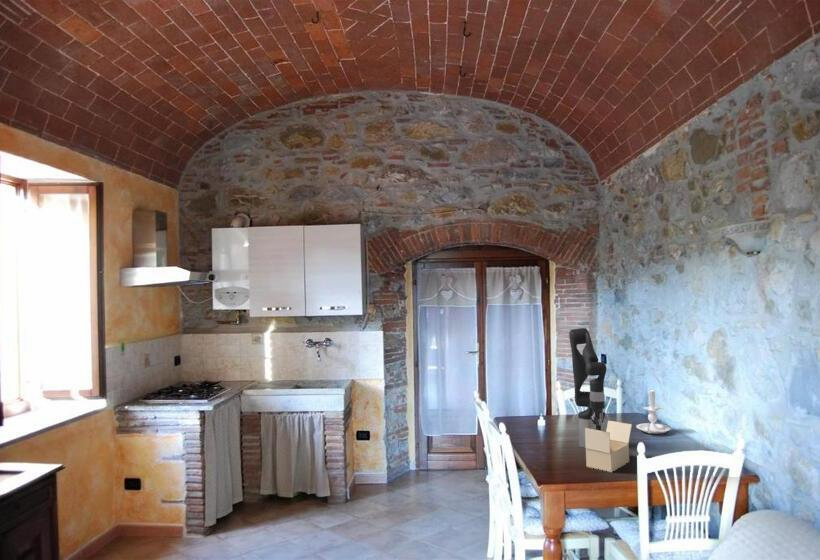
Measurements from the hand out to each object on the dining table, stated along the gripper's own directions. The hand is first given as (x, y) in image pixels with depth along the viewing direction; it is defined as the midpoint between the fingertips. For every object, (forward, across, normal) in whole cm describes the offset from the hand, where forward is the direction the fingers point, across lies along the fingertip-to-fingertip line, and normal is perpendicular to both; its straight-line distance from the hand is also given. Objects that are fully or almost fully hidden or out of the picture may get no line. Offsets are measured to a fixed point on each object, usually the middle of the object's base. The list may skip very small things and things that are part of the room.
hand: (598, 431), depth 281 cm
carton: (+20, -9, 0) cm, 22 cm away
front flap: (+4, +2, 0) cm, 4 cm away
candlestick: (+21, -84, -5) cm, 87 cm away
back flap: (+5, -23, 0) cm, 24 cm away
